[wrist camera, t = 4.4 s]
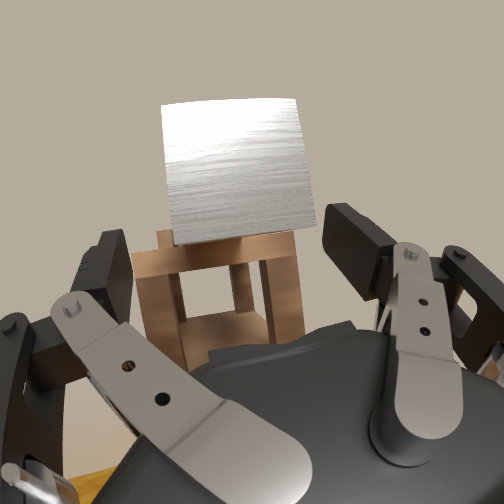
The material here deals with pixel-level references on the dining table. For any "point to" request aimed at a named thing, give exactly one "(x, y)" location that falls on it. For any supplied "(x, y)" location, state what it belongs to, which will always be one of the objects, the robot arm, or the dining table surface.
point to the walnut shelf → (244, 316)
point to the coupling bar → (235, 169)
